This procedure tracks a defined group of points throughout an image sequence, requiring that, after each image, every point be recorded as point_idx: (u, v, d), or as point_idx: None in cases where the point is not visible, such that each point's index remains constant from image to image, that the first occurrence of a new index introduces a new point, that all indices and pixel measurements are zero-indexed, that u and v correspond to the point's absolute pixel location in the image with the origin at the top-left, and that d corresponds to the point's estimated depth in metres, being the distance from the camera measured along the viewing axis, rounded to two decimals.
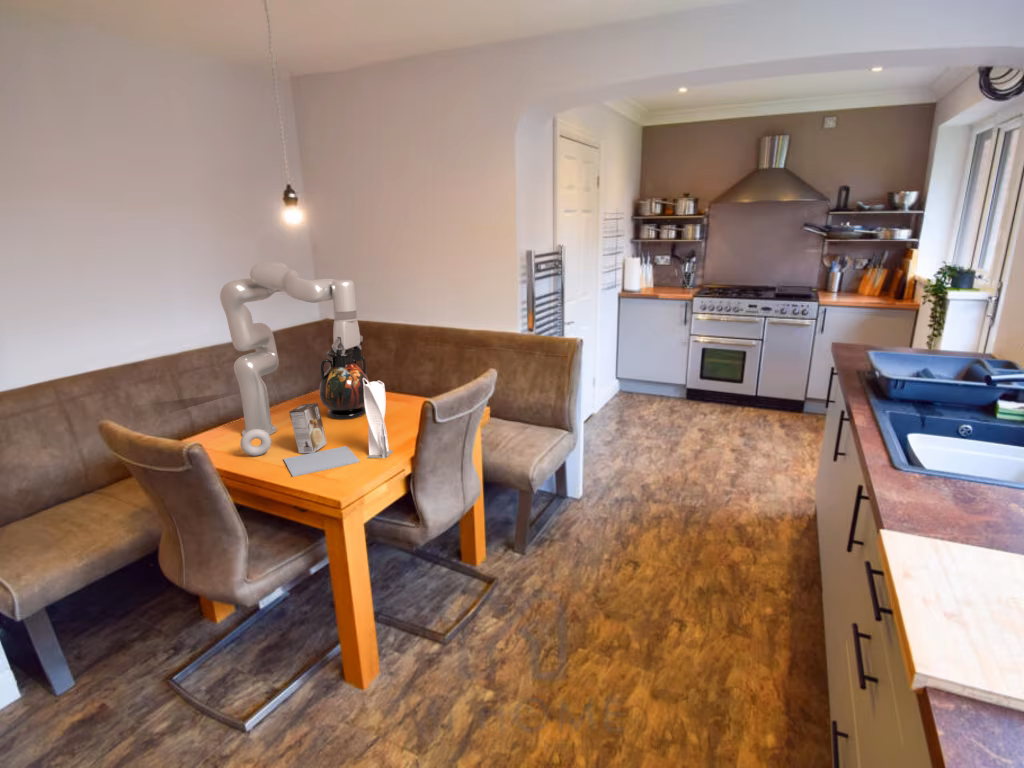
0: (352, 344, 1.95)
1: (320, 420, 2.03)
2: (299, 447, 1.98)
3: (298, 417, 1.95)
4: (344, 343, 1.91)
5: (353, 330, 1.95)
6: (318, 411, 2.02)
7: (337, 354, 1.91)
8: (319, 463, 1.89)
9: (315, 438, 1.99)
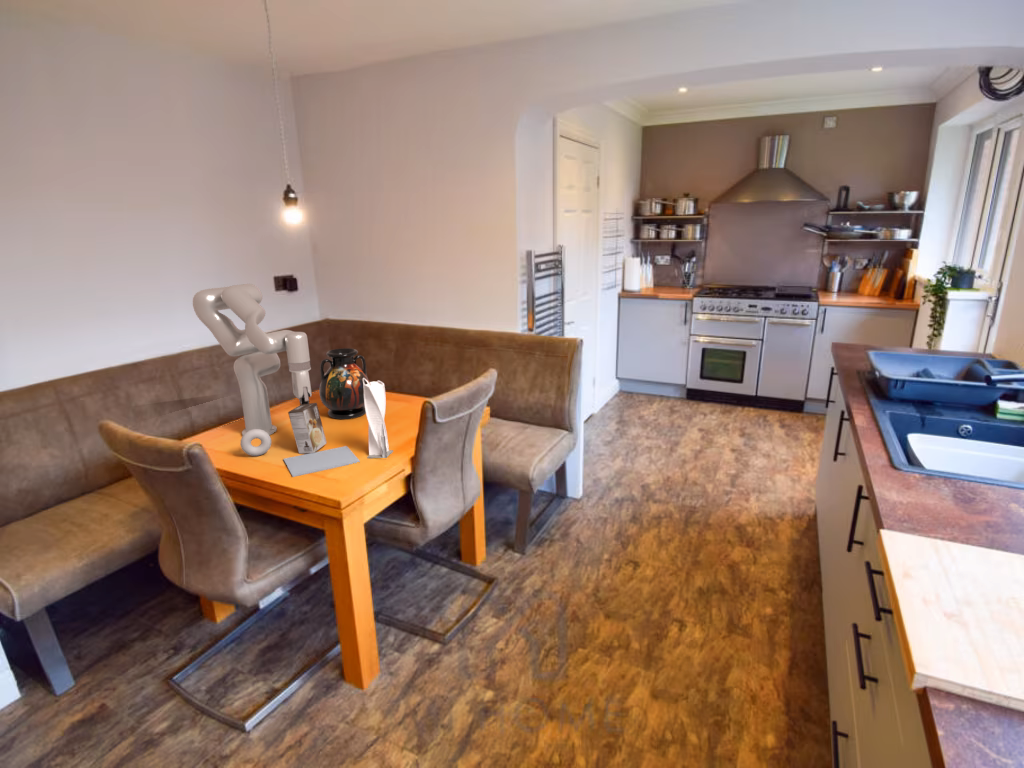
0: None
1: (319, 420, 2.03)
2: (299, 447, 1.98)
3: (297, 417, 1.95)
4: (310, 391, 2.02)
5: None
6: (317, 411, 2.02)
7: (305, 403, 2.04)
8: (319, 463, 1.89)
9: (314, 438, 1.99)
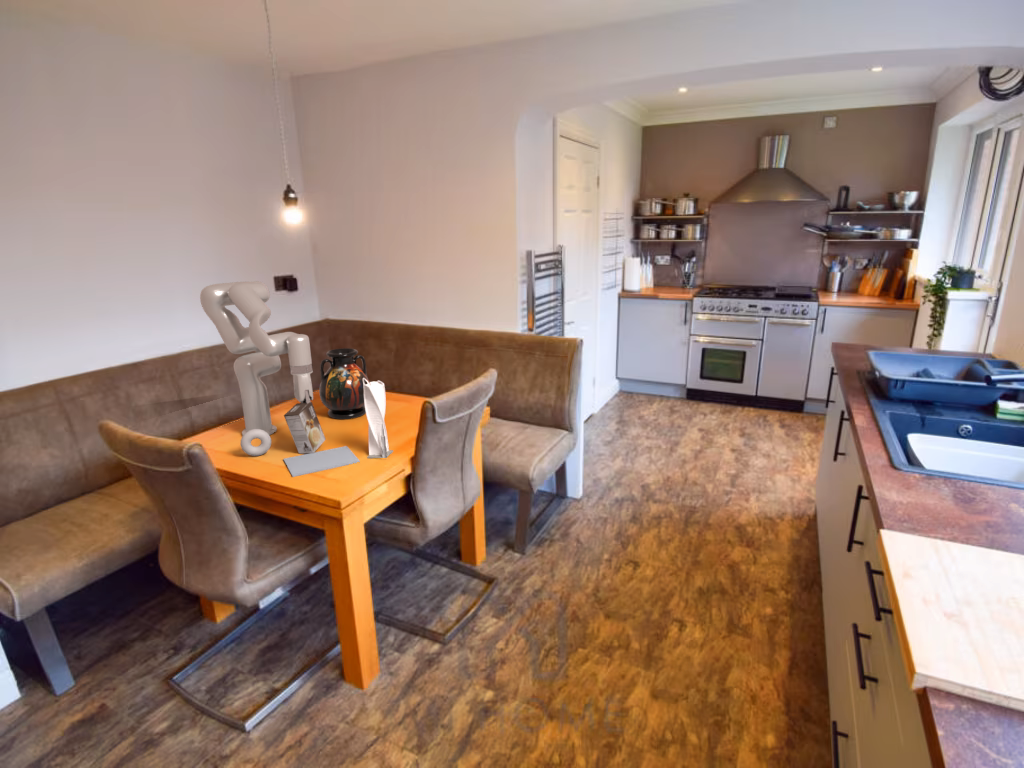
0: None
1: (316, 418, 2.01)
2: (298, 448, 1.98)
3: (294, 420, 1.93)
4: (312, 395, 1.99)
5: None
6: (313, 410, 1.99)
7: None
8: (319, 463, 1.89)
9: (313, 438, 1.98)
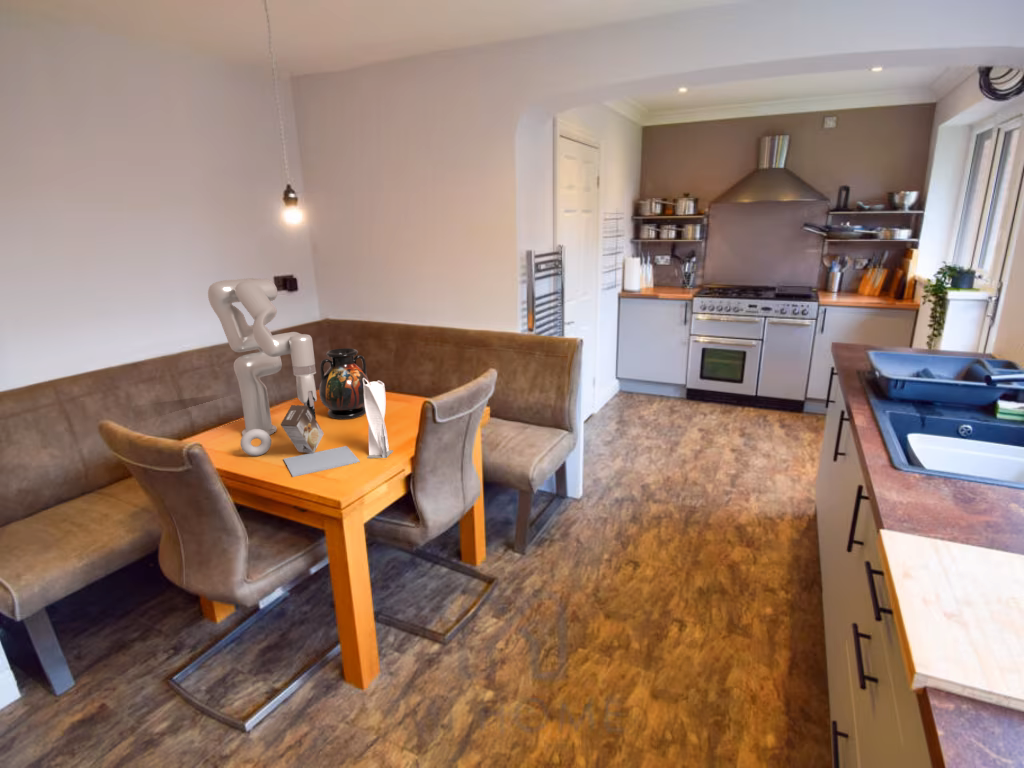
0: None
1: (313, 419, 1.96)
2: (298, 448, 1.97)
3: (291, 429, 1.89)
4: (316, 396, 1.95)
5: None
6: (309, 413, 1.94)
7: (310, 408, 1.97)
8: (319, 463, 1.89)
9: (312, 439, 1.96)
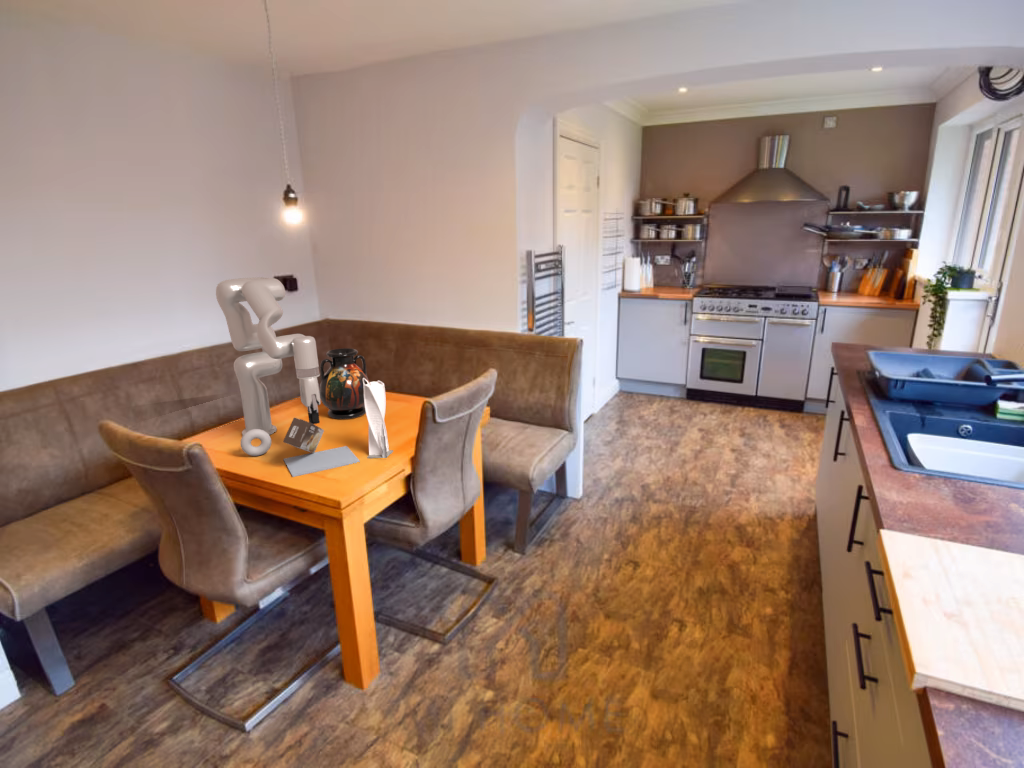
0: None
1: (315, 428, 1.91)
2: None
3: (294, 446, 1.85)
4: (319, 399, 1.90)
5: None
6: (313, 426, 1.87)
7: (313, 412, 1.92)
8: (319, 463, 1.89)
9: (313, 445, 1.94)
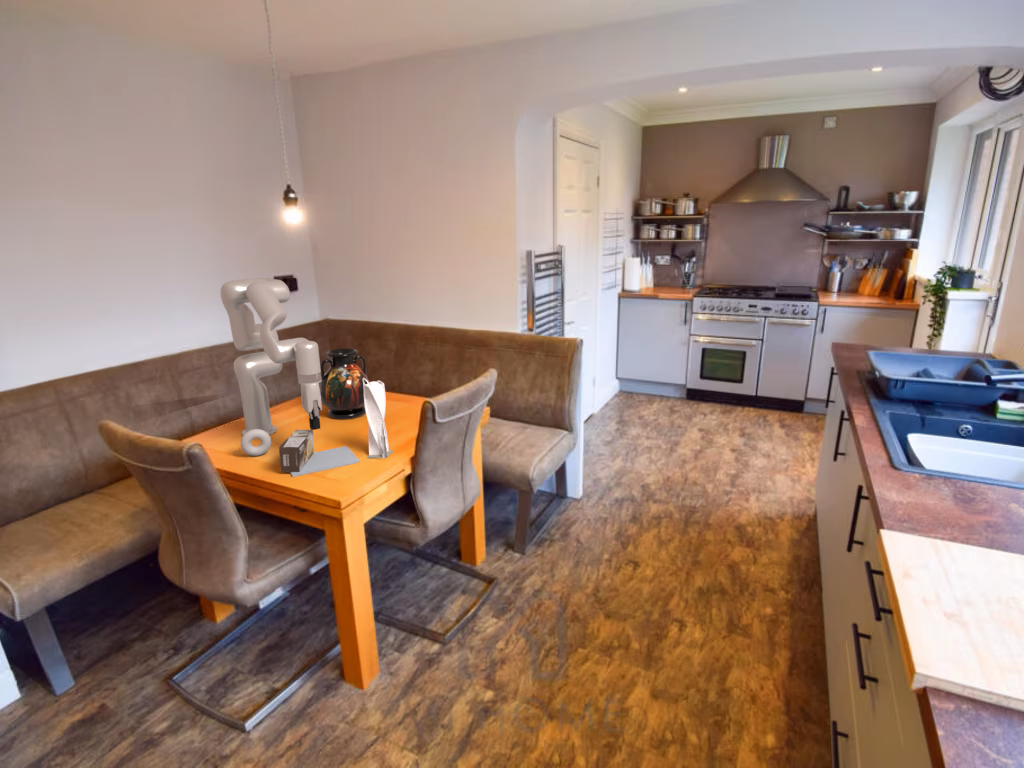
0: None
1: (304, 442, 1.87)
2: None
3: None
4: (321, 405, 1.88)
5: None
6: (301, 446, 1.83)
7: (314, 417, 1.90)
8: (319, 463, 1.89)
9: (310, 452, 1.93)
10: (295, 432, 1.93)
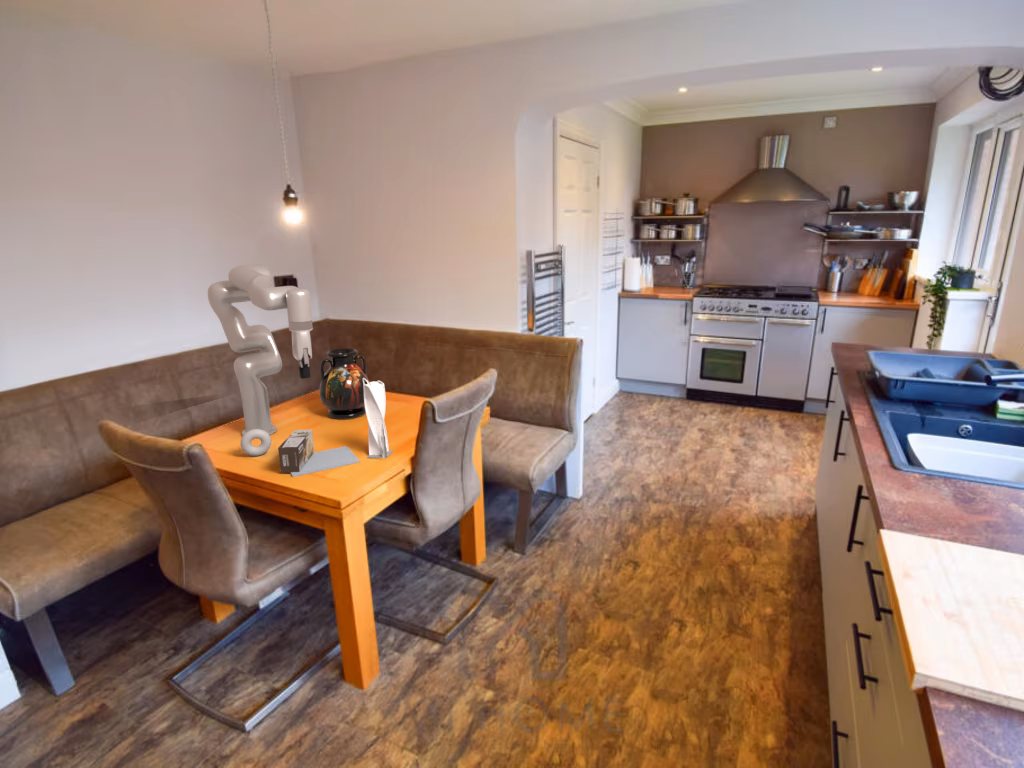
0: None
1: (303, 442, 1.87)
2: None
3: None
4: (311, 353, 1.88)
5: None
6: (300, 445, 1.83)
7: (304, 366, 1.91)
8: (319, 463, 1.89)
9: (309, 452, 1.93)
10: (294, 432, 1.93)
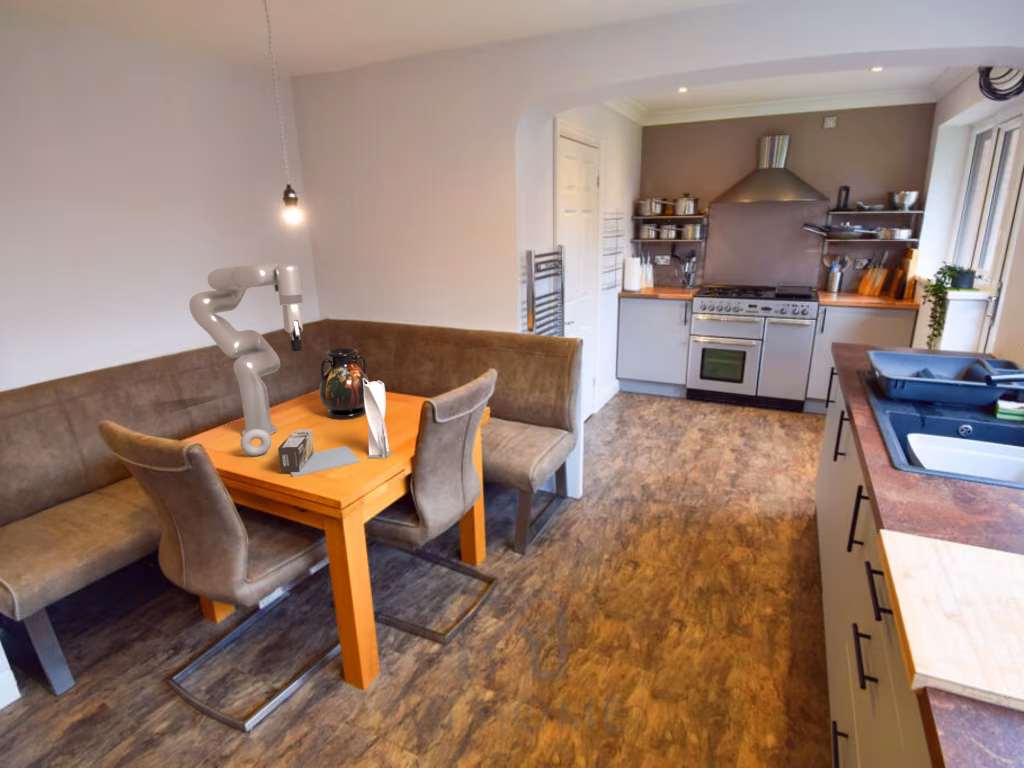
0: None
1: (303, 442, 1.87)
2: None
3: None
4: (302, 326, 1.96)
5: None
6: (300, 445, 1.83)
7: (296, 338, 1.99)
8: (319, 463, 1.89)
9: (309, 452, 1.93)
10: (294, 432, 1.93)
